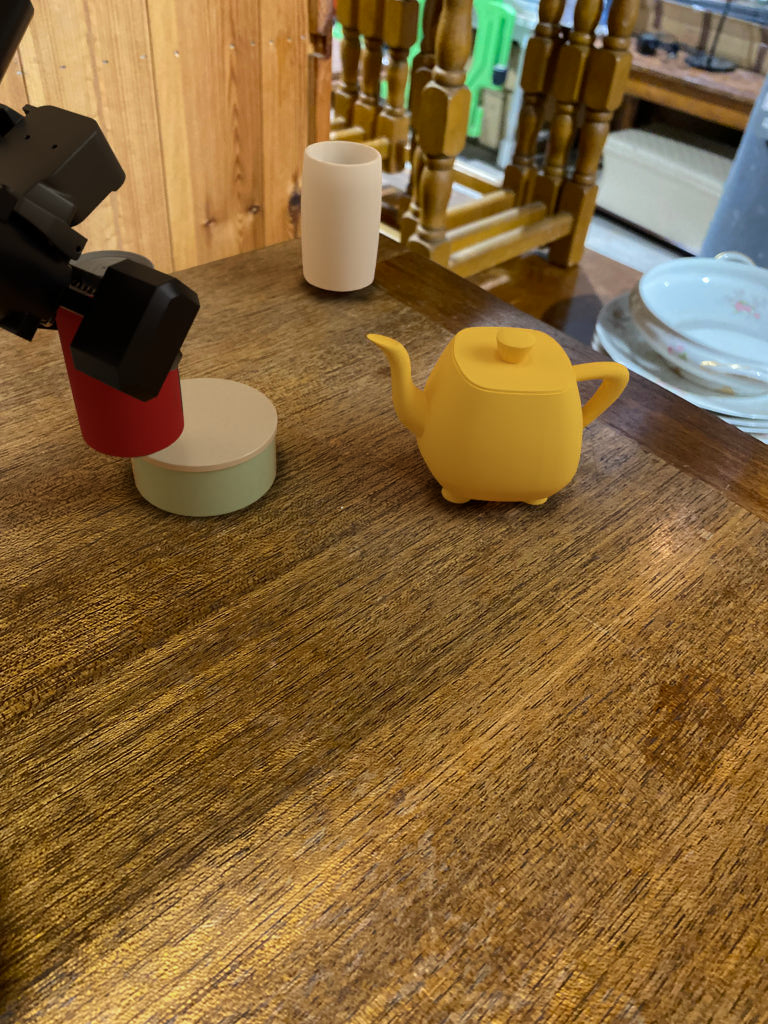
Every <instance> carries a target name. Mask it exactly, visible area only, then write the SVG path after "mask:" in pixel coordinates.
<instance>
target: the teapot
mask: <svg viewBox="0 0 768 1024" xmlns="http://www.w3.org/2000/svg"><path fill="white" fill-rule="evenodd" d="M366 338H367V340H368V341H370V342H371V343H372V344H374V346H376V347H377V348H378V349H380V351H382V352H383V354H384V356H385V358H386V359H387V361H388V364H389V368H390V375H391V376H390V377H391V397H392V398H391V399H392V405H393V408H394V412H395V414H396V416H397V418H398V420H399V422H400V423H401V424H402V425H403V426H404V427H405V428H406V429H407V430H408V431H410V432H411V433H413V434H414V435H415V438H416V443H417V447H418V450H419V452H420V454H421V457H422V459H423V460H424V463H425V464H426V466H427V468H428V469H429V472H430V473H431V475H432V476H433V477H434V478H435V480H436V481H437V483H438V484H439V485H440V486H441V487H442V488H441V495H442V497H443V498H444V499H445V500H446V501H448V502H451V503H454V504H465V503H468V502H470V501H471V500H475V501H477V500H478V501H487V502H522V503H525V504H528V505H531V506H539V505H543V504H544V503H546V502H547V501H548V498H550V497H551V496H553V495H555V494H556V493H558V492H559V491H562V489H563V488H565V487H566V486H567V485H569V484H570V483H571V481H572V479H573V478H574V477H575V475H576V474H577V470H578V467H579V463H580V460H581V453H582V446H583V434H584V433H583V431H584V429H585V428H586V427H588V426H589V425H590V424H591V423H592V422H594V421H595V420H596V419H597V418H598V417H600V416H601V415H602V414H603V413H604V412H605V411H606V410H608V408H610V406H612V405H613V404H614V403H615V402H616V401H617V399H618V398H620V396H621V395H622V393H623V392H624V390H625V389H626V387H627V385H628V383H629V380H630V371H629V370H628V368H627V366H626V365H624V364H623V363H620V362H615V361H594V362H586V363H578V364H573V365H572V361H571V360H570V358H569V355H568V354H567V353H566V351H565V350H564V348H563V347H562V346H561V344H559V342H558V341H557V340H555V338H553V337H552V336H551V335H549V334H547V333H546V332H544V331H541V330H537V329H530V328H523V327H509V326H471V327H466V328H463V329H461V330H460V331H458V332H457V333H456V334H455V335H454V336H453V337H452V338H451V340H450V341H449V342H448V344H447V345H446V346H445V348H444V350H443V351H442V353H441V354H440V356H439V358H438V359H437V361H436V363H435V364H434V366H433V368H432V370H431V371H430V373H429V375H428V377H427V380H426V383H425V385H424V387H423V390H421V389H420V388H418V387H417V386H416V385H415V383H414V382H413V378H412V366H411V359H410V355H409V353H408V351H407V349H406V348H405V347H404V345H403V344H402V343H401V342H399V341H397V339H394V338H391V337H389V336H386V335H382V334H377V333H368V334H367V335H366ZM592 380H602V382H601V384H600V385H599V387H598V388H597V390H596V391H595V392H594V394H593V395H592V396H591V397H590V398H589V400H588V401H587V402H586V403H585V404H584V405H583V406H582V402H581V396H580V390H579V386H578V383H579V382H583V381H592Z"/></svg>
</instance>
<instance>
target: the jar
mask: <svg viewBox="0 0 768 1024" xmlns="http://www.w3.org/2000/svg"><path fill="white" fill-rule="evenodd" d="M180 384H181V393H182V403H183V413H184V429H183V432H182V434H181V436H180V437H179V438H178V439H177V440H176V441H175V442H174V443H173V444H171V445H170V446H169V447H167V448H165V449H163V450H161V451H158V452H156V453H154V454H151V455H148V456H144V457H138V458H130V464H131V468H132V473H133V474H132V475H133V480H134V484H135V487H136V489H137V491H138V492H139V494H140V495H141V496H142V497H143V498H144V499H145V500H146V501H147V502H148V503H150V504H151V505H152V506H154V507H156V508H158V509H160V510H163V511H165V512H168V513H171V514H175V515H178V516H183V517H184V516H185V517H196V518H201V517H202V518H203V517H215V516H220V515H221V516H222V515H226V514H231V513H234V512H236V511H239V510H242V509H244V508H246V507H248V506H250V505H252V504H253V503H255V502H257V501H258V500H260V499H261V498H262V497H263V496H264V495H265V494H267V492H268V491H269V490H270V488H271V487H272V485H273V483H274V481H275V479H276V476H277V437H276V435H277V433H278V429H279V428H278V427H279V417H278V412H277V409H276V407H275V405H274V404H273V402H272V401H271V399H269V397H268V396H266V394H264V393H263V392H261V390H259V389H256V388H254V387H253V386H251V385H248V384H246V383H243V382H239V381H236V380H232V379H226V378H220V377H219V378H218V377H192V378H184V379H180Z"/></svg>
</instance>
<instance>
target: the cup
mask: <svg viewBox="0 0 768 1024" xmlns="http://www.w3.org/2000/svg"><path fill="white" fill-rule="evenodd" d="M382 161H383V160H382V154H381V153H380V152H379V150H377V149H376V148H375V147H373V146H370V145H367V144H364V143H360V142H356V141H355V142H354V141H348V140H325V141H319V142H315V143H311V144H309V145H307V147H305V149H304V150H303V160H302V162H303V163H302V170H301V187H300V188H301V189H300V229H301V230H300V235H301V237H300V239H301V240H300V241H301V242H300V243H301V257H302V261H301V262H302V273H303V277H304V279H305V280H306V281H307V283H309V284H310V285H312V286H314V287H316V288H319V289H323V290H326V291H333V292H353V291H357V290H358V291H359V290H362V289H364V288H366V287H368V286H370V285H371V284H372V283H373V282H374V280H375V274H376V273H375V272H376V266H377V257H378V250H379V249H378V248H379V240H380V229H381V218H382V217H381V215H382V197H383V162H382Z"/></svg>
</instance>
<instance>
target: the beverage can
mask: <svg viewBox="0 0 768 1024" xmlns="http://www.w3.org/2000/svg"><path fill="white" fill-rule="evenodd" d="M127 258H128V259H131V260H133V261H136V262H138V263H141V264H143V265H146V266H148V267H151V268H153V269H155V270H156V267H155V265H154V263H153V262H152V261H151V259H150V258H148V257H146V256H145V255H142V254H139V253H136V252H133V251H127V250H121V249H120V250H119V249H106V250H105V249H104V250H103V249H102V250H93V251H89V252H88V251H87V252H84V253H81V255H80V257H79V259H78V260H77V261H74V260H72V259H71V260H70V264H72V265H74V266H77V267H79V268H81V269H84V270H86V271H88V272H91V273H93V274H96V275H98V276H100V277H103V276H104V273H105V271H106V269H107V267H108V266H110V265H113V264H115V263H117V262H120V261H122V260H125V259H127ZM69 288H71V289H73V290H75V291H77V292H80V293H82V294H84V295H87V296H89V297H91V298H93V296H94V295H92V294H89V293H87V292H86V291H85V292H84V291H83V290H81V289H78V288H76V287H73V286H72V285H70V286H69ZM55 319H56V324H57V329H58V330H57V333H58V337H59V342H60V348H61V351H62V355H63V360H64V365H65V369H66V372H67V377H68V382H69V385H70V390H71V395H72V399H73V404H74V408H75V411H76V415H77V420H78V424H79V428H80V433H81V436H82V439H83V441H84V442H85V443H86V445H87V446H88V447H90V448H91V449H92V450H94V451H96V452H97V453H100V454H102V455H106V456H110V457H116V458H125V459H131V458H138V457H144V456H148V455H151V454H154V453H156V452H158V451H161V450H163V449H165V448H167V447H169V446H170V445H171V444H173V443H174V442H175V441H176V440H177V439H178V438H179V437H180V436H181V434H182V432H183V429H184V413H183V403H182V393H181V384H180V380H181V376H180V368H179V367H180V366H179V365H178V367H177V368H176V369H175V370H172V371H169V373H168V375H167V378H166V380H165V382H164V384H163V386H162V388H161V390H160V392H159V394H158V396H157V397H155V398H153V399H151V400H149V401H147V402H145V403H144V402H142V401H140V400H138V399H136V398H134V397H131V396H129V395H127V394H125V393H123V392H121V391H119V390H117V389H115V388H113V387H111V386H109V385H106V384H104V383H102V382H100V381H98V380H96V379H94V378H92V377H90V376H88V375H86V374H84V373H82V372H80V371H78V370H76V369H74V364H73V360H72V355H71V351H70V344H71V342H72V340H73V338H74V336H75V334H76V331H77V329H78V327H79V325H80V323H81V321H82V319H83V317H81V316H79V315H77V314H75V313H73V312H70V311H68V310H66V309H64V308H62V307H59V309H58V310H57V316H56V318H55Z"/></svg>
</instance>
